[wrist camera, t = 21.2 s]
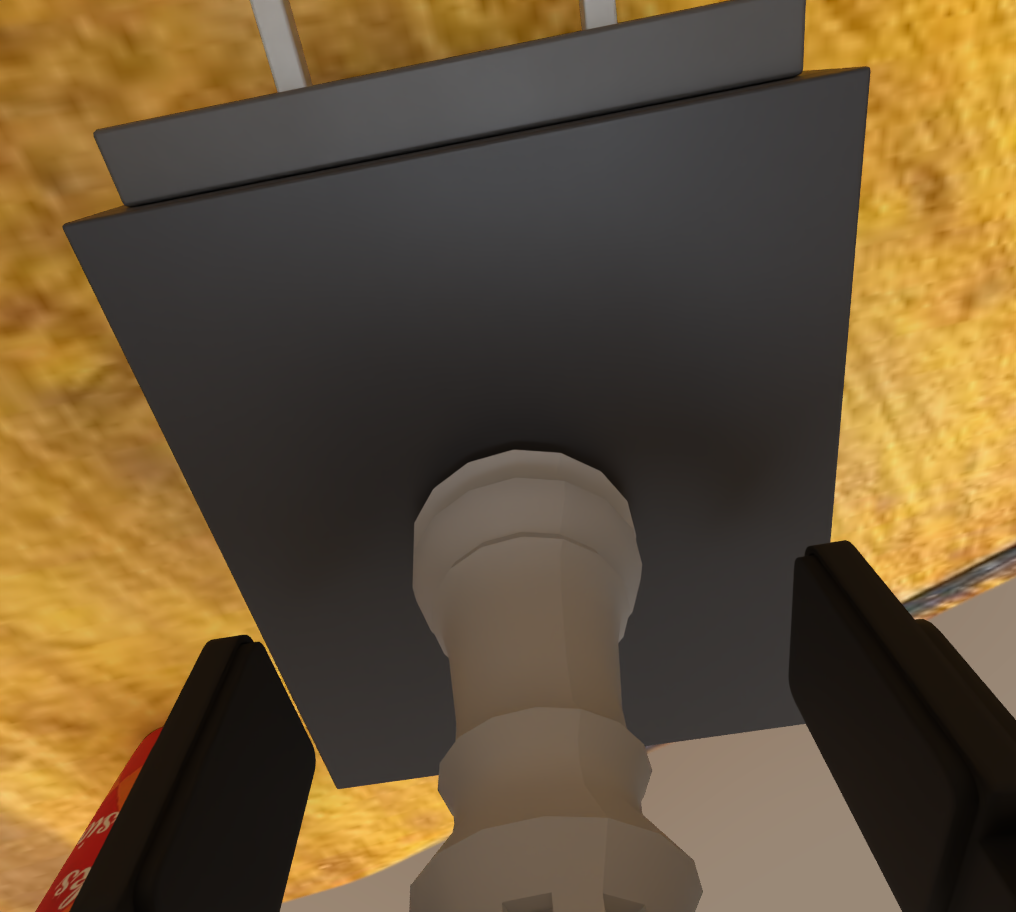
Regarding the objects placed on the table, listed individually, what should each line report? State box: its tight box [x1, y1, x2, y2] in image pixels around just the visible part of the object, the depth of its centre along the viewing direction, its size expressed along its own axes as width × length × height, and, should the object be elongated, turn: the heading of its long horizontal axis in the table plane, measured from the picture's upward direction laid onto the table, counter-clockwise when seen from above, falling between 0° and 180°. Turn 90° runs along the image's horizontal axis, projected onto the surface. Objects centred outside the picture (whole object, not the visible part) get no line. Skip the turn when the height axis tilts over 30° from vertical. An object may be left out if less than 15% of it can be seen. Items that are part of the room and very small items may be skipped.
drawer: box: [93, 0, 806, 207], centre depth 16 cm, size 18×11×8 cm, turn 10°
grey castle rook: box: [409, 450, 703, 912], centre depth 10 cm, size 4×4×8 cm
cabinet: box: [63, 67, 870, 789], centre depth 18 cm, size 15×13×10 cm
